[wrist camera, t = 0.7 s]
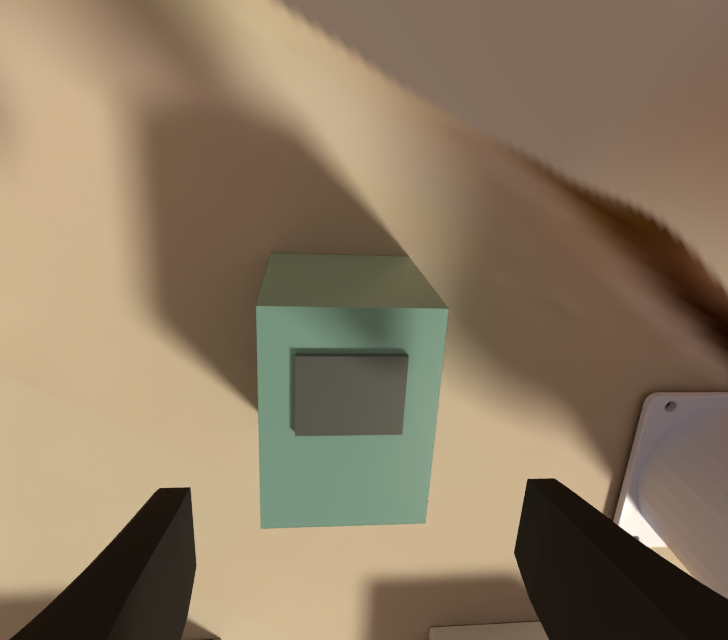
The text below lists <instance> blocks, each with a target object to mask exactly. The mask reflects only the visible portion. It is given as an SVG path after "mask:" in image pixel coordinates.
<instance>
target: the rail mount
mask: <svg viewBox="0 0 728 640" xmlns="http://www.w3.org/2000/svg"><path fill="white" fill-rule="evenodd" d="M215 640H221V639H215ZM429 640H549V639H548V637H547V635H546V633H545V631H544V628H543V626H542V624H541V622H540V621H539V622H521V623H503V624H485V625H467V626H449V627H431V628H430V632H429Z"/></svg>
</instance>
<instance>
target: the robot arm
mask: <svg viewBox="0 0 728 640" xmlns="http://www.w3.org/2000/svg"><path fill="white" fill-rule="evenodd" d="M669 402H671V403H670V405H669V406H667V407H665V406H666V404H667V403H669ZM649 547H668V548H669V549H670V550H671V551H672V552H673V553H674V555H675V556H676V557H677V558H678V559H679V560H680V562H681V563H682V564H683V565H684V566H685V568H686V569H687V570H688V571H689V572H690V573H691V575H692V576H693V577H694V578H695V579H694V578H693V577H691V576H690V575H688V574H687V573H685V572H684V571H682V570H681V569H679V568H678V567H676V566H675V565H673V564H672V563H670V562H669V561H667V560H666V559H664V558H663V557H661V556H660V555H659V554H657V553H656V552H654V551H653V550H651V549H650V548H649ZM514 554H515V557H516V560H517V563H518V567H519V570H520V573H521V576H522V579H523V582H524V584H525V587H526V590H527V593H528V596H529V599H530V601H531V603H532V605H533V607H534V609H535V612H536V614H537V616H538V618H539V620H540V622H541V624H542V626H543V628H544V631H545V633H546V635H547V637H548V639H549V640H728V392H657V393H653V394H651V395H649V396H648V397H647V398H646V399H645V401H644V404H643V408H642V411H641V415H640V419H639V423H638V427H637V431H636V435H635V439H634V443H633V446H632V450H631V454H630V458H629V462H628V466H627V470H626V474H625V478H624V482H623V485H622V489H621V493H620V497H619V501H618V505H617V509H616V513H615V517H614V520H613V521H612V520H610V519H609V518H607V517H606V516H605V515H604V514H602V513H601V512H600V511H598V510H597V509H596V508H594V507H593V506H592V505H590V504H589V503H588V502H586V501H585V500H584V499H582V498H581V497H580V496H578V495H577V494H576V493H574V492H573V491H571V490H570V489H569V488H567V487H566V486H565V485H563V484H562V483H560V482H559V481H557V480H556V479H554V478H551V479H528V480H527V485H526V491H525V496H524V501H523V507H522V512H521V518H520V523H519V529H518V534H517V540H516V545H515V551H514ZM195 571H196V555H195V542H194V529H193V516H192V502H191V489H190V487H189V488H159V489H158V490H157V491H156V492H155V493H154V494H153V495H152V496H151V497H150V499H149V500H148V501H147V502H146V503H145V504H144V506H143V507H142V508H141V509H140V510H139V511H138V512H137V514H136V515H135V516H134V517H133V518H132V519H131V520H130V522H129V523H128V524H127V525H126V526H125V527H124V528H123V529H122V531H121V532H120V533H119V534H118V535H117V536H116V537H115V538H114V539H113V540H112V542H111V543H110V544H109V545H108V546H107V547H106V548H105V549H104V550H103V551H102V552H101V553H100V554H99V555H98V556H97V558H96V559H95V560H94V561H93V562H92V563H91V564H90V565H89V566H88V567H87V568H86V569H85V570H84V571H83V572H82V573H81V574H80V575H79V576H78V577H77V578H76V579H75V580H74V581H73V582H72V583H71V584H70V585H69V586H68V587H67V588H66V589H65V590H64V591H63V592H62V593H60V594H59V595H58V596H57V597H56V598H55V599H54V600H53V601H52V602H51V603H50V604H49V605H48V606H47V607H46V608H45V609H44V610H43V611H41V612H40V613H39V614H38V615H37V616H36V617H35V618H34V619H33V620H32V621H30V622H29V623H28V624H27V625H26V626H25V627H24V628H22V629H21V630H20V631H19V632H18V633H17V634H16V635H14V636H13V637H12V638H11V639H10V640H181V637H182V634H183V630H184V627H185V623H186V620H187V616H188V610H189V605H190V600H191V594H192V588H193V582H194V577H195Z"/></svg>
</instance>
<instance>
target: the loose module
mask: <svg viewBox="0 0 728 640" xmlns="http://www.w3.org/2000/svg"><path fill="white" fill-rule="evenodd" d="M448 310H449V308H448V307H447V306H446V305H445V303H444V302H443V301H442V299H441V298H440V297H439V295H438V294H437V293H436V291H435V290H434V289H433V288H432V286H431V285H430V284H429V282H428V281H427V280H426V278H425V277H424V276H423V274H422V273H421V272H420V271H419V269H418V268H417V267H416V265H415V264H414V263H413V261H412V260H411V259H410V257H409V256H373V255H332V254H290V253H271V254H270V257H269V261H268V265H267V268H266V272H265V275H264V279H263V282H262V286H261V290H260V293H259V297H258V300H257V304H256V332H257V378H258V423H259V469H260V515H261V529H267V528H299V527H330V526H362V525H394V524H425V523H426V514H427V504H428V495H429V486H430V477H431V467H432V458H433V449H434V440H435V430H436V421H437V412H438V403H439V394H440V384H441V375H442V366H443V357H444V347H445V338H446V329H447V320H448Z"/></svg>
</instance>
